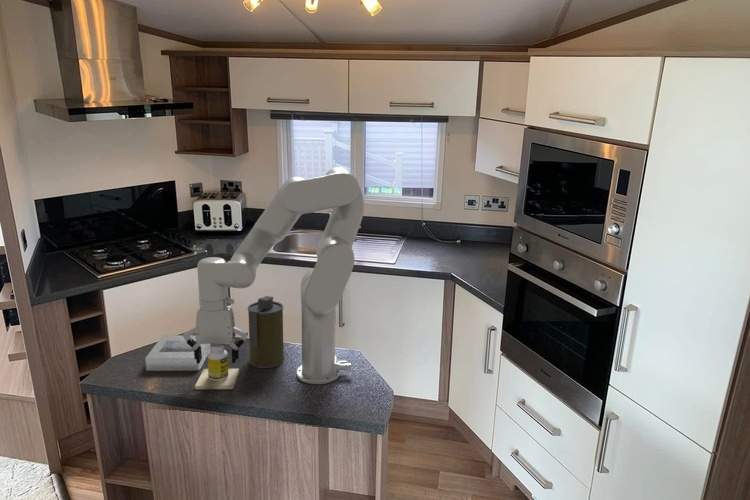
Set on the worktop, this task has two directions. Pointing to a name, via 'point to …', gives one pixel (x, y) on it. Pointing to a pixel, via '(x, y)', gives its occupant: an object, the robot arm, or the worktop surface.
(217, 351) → the supplement bottle
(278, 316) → the canister
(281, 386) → the worktop surface
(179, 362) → the socket block
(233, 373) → the oak board
